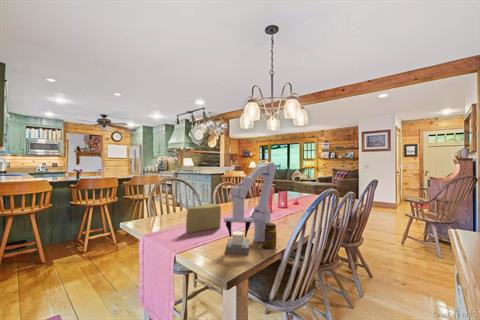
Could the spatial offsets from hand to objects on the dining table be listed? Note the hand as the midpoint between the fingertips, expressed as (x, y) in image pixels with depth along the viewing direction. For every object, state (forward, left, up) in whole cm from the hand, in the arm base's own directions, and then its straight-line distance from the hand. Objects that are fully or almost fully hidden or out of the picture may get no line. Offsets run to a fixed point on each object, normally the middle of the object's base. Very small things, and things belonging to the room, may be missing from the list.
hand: (238, 236), depth 112 cm
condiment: (-16, -3, -6) cm, 18 cm away
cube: (0, 0, -3) cm, 3 cm away
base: (0, 0, -6) cm, 6 cm away
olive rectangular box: (+24, -28, -6) cm, 37 cm away
